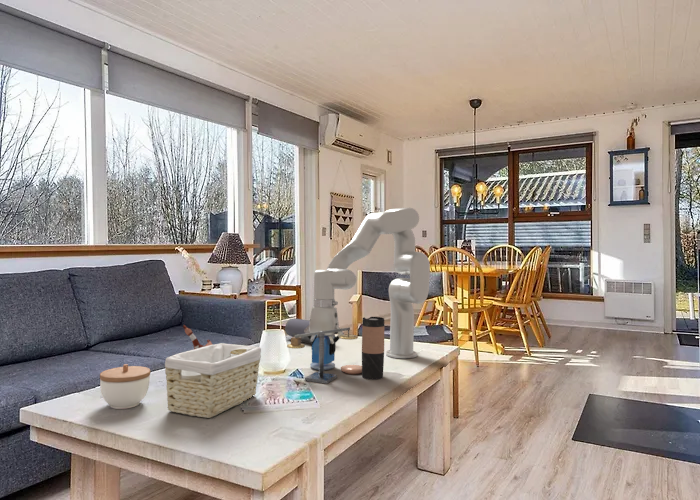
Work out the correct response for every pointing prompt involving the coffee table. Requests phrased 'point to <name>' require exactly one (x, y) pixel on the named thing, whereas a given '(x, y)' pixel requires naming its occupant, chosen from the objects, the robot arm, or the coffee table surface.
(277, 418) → the coffee table surface
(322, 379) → the balance
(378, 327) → the travel mug
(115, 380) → the lidded bowl
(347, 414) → the coffee table surface
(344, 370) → the peach glossy round dome
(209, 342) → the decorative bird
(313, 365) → the pale blue dome
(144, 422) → the coffee table surface
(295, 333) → the bluetooth speaker
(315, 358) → the perfume bottle
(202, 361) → the storage basket
